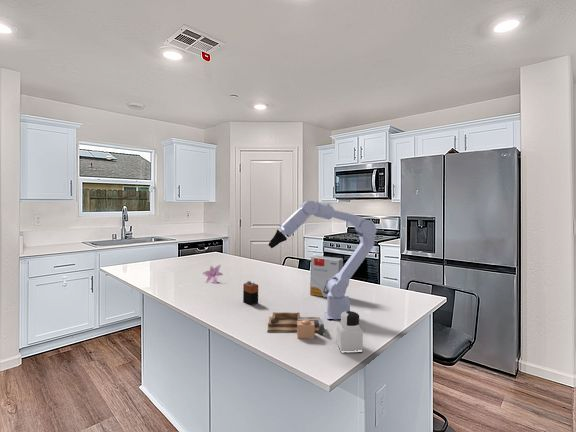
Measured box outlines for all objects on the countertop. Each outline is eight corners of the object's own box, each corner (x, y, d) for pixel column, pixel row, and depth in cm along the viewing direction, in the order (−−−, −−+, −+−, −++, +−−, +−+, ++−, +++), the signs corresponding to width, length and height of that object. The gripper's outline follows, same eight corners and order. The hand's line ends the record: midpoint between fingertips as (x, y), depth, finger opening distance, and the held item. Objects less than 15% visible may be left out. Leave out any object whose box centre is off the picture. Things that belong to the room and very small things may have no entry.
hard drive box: (309, 295, 171) (310, 257, 170) (315, 291, 177) (315, 255, 177) (337, 299, 163) (338, 260, 162) (342, 295, 170) (343, 257, 169)
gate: (321, 326, 127) (321, 318, 127) (324, 334, 119) (324, 325, 119) (297, 325, 127) (297, 317, 127) (298, 334, 119) (298, 325, 119)
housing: (319, 319, 135) (319, 312, 135) (323, 332, 121) (323, 324, 121) (269, 318, 135) (269, 311, 135) (267, 331, 121) (267, 324, 121)
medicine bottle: (357, 343, 112) (358, 309, 112) (362, 353, 105) (363, 316, 104) (336, 343, 112) (337, 309, 111) (340, 353, 105) (341, 316, 104)
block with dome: (313, 334, 120) (313, 319, 120) (314, 338, 116) (314, 323, 116) (297, 334, 120) (297, 319, 120) (297, 338, 116) (297, 323, 116)
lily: (201, 282, 199) (198, 270, 194) (216, 272, 207) (214, 260, 202) (213, 291, 193) (211, 279, 188) (228, 280, 200) (227, 268, 195)
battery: (250, 300, 160) (250, 280, 160) (258, 303, 155) (258, 282, 155) (242, 302, 157) (242, 281, 157) (251, 305, 152) (251, 284, 152)
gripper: (286, 216, 142) (264, 238, 142) (287, 215, 128) (262, 239, 127) (297, 227, 142) (275, 249, 142) (299, 228, 128) (275, 252, 127)
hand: (270, 245), depth 135 cm, fingers open, 7 cm apart
